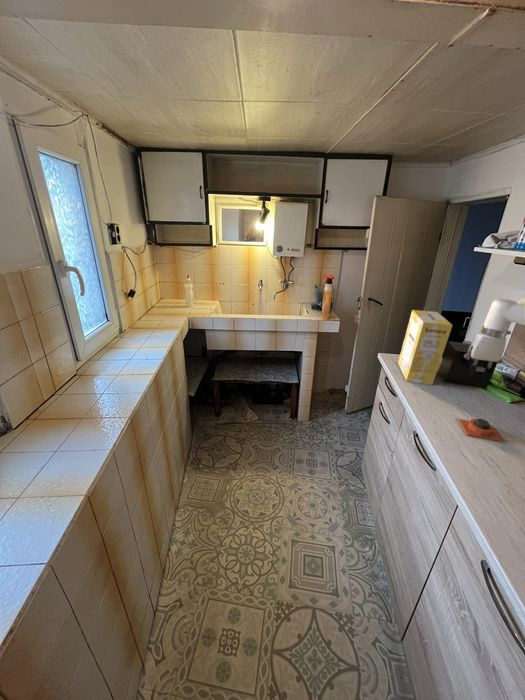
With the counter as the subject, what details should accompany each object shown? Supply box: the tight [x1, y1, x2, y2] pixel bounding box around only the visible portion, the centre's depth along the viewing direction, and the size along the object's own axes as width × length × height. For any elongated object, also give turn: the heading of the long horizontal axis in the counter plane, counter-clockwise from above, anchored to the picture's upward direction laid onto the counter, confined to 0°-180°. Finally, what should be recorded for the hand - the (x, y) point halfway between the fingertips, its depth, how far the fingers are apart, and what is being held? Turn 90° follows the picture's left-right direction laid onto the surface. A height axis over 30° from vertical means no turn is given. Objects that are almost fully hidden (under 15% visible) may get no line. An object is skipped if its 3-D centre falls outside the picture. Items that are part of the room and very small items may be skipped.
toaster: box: [437, 340, 498, 389], centre depth 124 cm, size 16×11×16 cm
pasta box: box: [397, 309, 453, 386], centre depth 125 cm, size 18×10×28 cm, turn 167°
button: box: [475, 418, 491, 430], centre depth 94 cm, size 4×4×2 cm
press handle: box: [470, 362, 485, 372], centre depth 114 cm, size 3×6×2 cm, turn 164°
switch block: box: [458, 418, 503, 443], centre depth 94 cm, size 10×8×3 cm
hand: (476, 373), depth 114 cm, fingers closed on press handle, 3 cm apart
